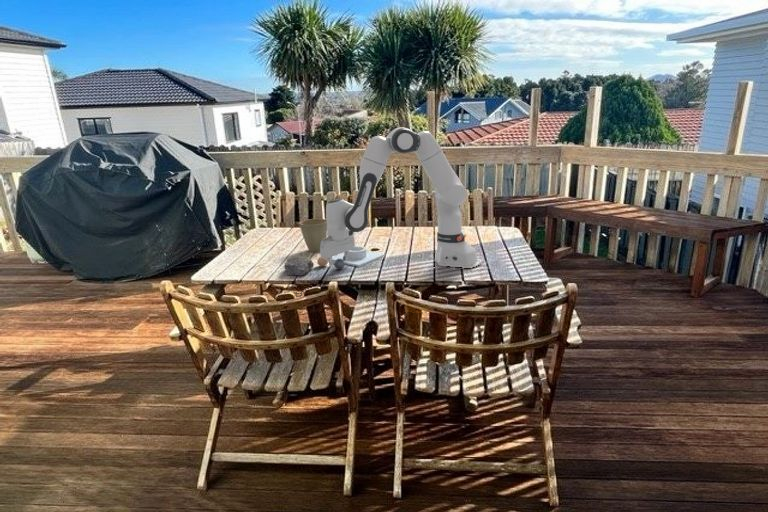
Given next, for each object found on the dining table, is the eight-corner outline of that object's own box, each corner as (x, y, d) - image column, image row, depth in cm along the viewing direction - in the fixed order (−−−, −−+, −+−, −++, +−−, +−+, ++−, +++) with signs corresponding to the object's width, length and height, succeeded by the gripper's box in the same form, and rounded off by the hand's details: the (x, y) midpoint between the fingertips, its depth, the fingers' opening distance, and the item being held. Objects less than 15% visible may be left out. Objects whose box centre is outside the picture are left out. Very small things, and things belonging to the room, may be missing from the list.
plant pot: (313, 245, 253) (311, 217, 248) (335, 248, 246) (333, 219, 241) (296, 252, 241) (293, 223, 236) (318, 255, 234) (315, 225, 229)
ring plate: (384, 256, 228) (383, 246, 227) (359, 267, 213) (358, 256, 212) (354, 250, 240) (353, 241, 238) (328, 260, 225) (327, 251, 223)
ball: (330, 265, 217) (329, 255, 215) (323, 268, 213) (322, 258, 211) (322, 263, 220) (322, 254, 218) (315, 266, 216) (314, 256, 214)
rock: (304, 277, 202) (316, 268, 216) (304, 264, 200) (316, 255, 214) (278, 276, 205) (292, 266, 219) (278, 262, 203) (291, 253, 217)
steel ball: (347, 268, 212) (346, 258, 210) (340, 271, 208) (339, 261, 206) (339, 266, 215) (338, 256, 213) (332, 269, 211) (331, 259, 209)
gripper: (326, 239, 196) (328, 269, 200) (356, 230, 212) (357, 258, 216) (315, 238, 200) (318, 267, 204) (346, 228, 216) (347, 256, 220)
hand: (338, 262), depth 210 cm, fingers open, 8 cm apart
